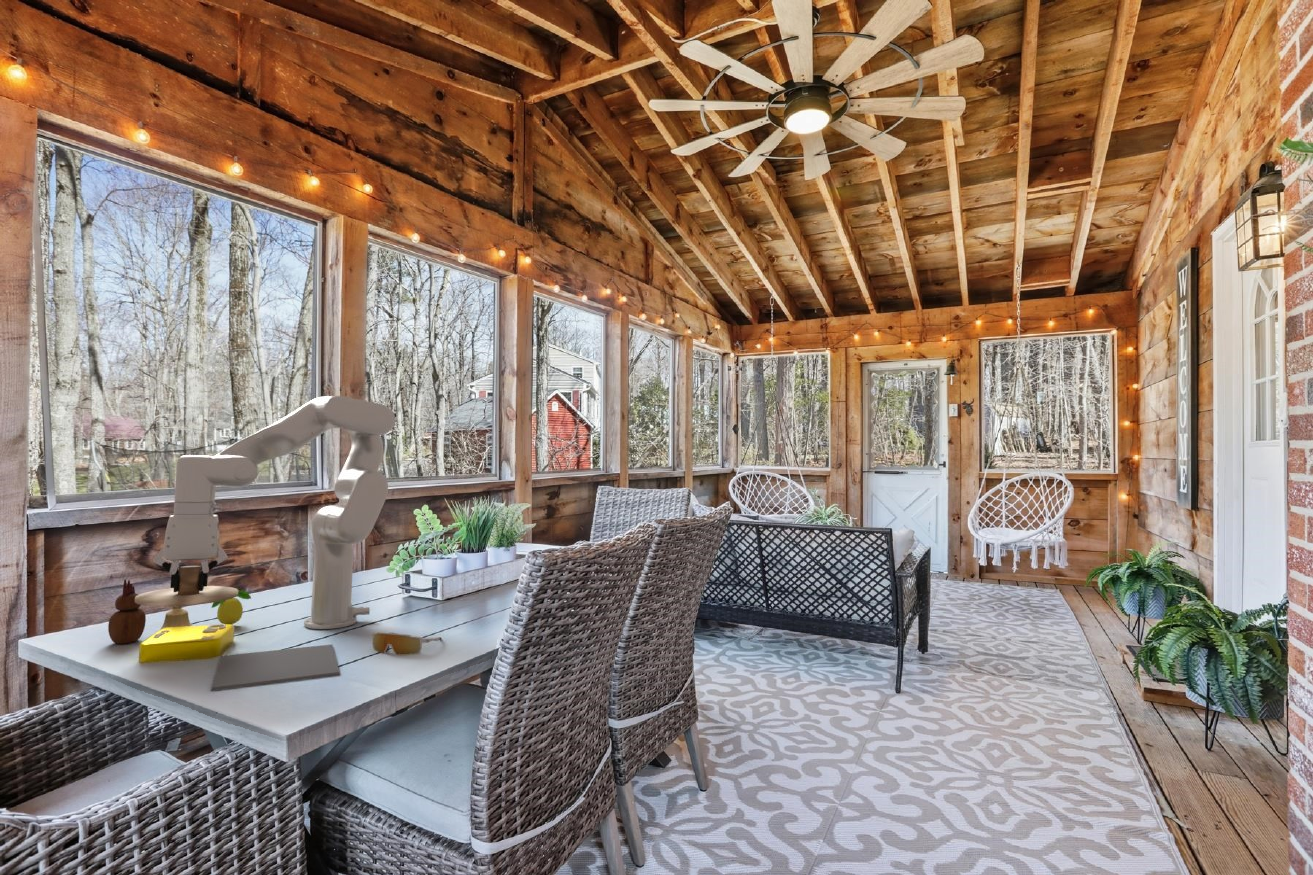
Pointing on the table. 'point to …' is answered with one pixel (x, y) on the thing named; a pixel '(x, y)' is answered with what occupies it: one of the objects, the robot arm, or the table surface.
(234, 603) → the lemon
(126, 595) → the wooden figurine
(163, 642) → the element tile
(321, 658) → the mat
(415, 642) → the sunglasses
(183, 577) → the lid
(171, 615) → the hand bell
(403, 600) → the table surface
